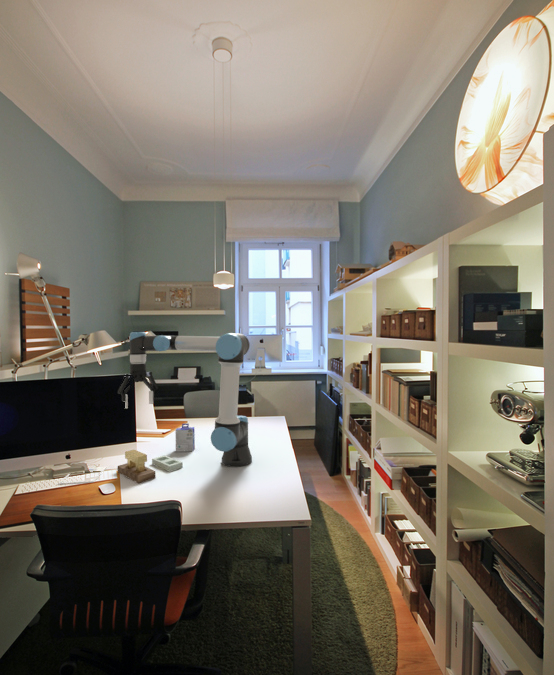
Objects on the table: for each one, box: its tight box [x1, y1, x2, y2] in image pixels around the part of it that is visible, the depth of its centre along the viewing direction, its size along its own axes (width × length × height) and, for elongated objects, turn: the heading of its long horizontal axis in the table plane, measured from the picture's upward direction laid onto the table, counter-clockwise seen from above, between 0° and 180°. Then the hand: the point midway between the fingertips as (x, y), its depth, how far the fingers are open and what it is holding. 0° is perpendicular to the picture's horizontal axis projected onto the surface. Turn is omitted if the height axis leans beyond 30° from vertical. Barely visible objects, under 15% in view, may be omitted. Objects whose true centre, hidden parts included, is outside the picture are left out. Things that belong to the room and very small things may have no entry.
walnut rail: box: [117, 463, 156, 484], centre depth 170 cm, size 20×8×3 cm, turn 48°
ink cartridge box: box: [175, 423, 196, 453], centre depth 206 cm, size 10×6×14 cm, turn 95°
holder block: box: [151, 455, 183, 472], centre depth 181 cm, size 16×7×2 cm, turn 48°
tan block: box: [124, 449, 148, 473], centre depth 170 cm, size 12×4×10 cm, turn 48°
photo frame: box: [57, 466, 108, 485], centre depth 170 cm, size 15×1×18 cm
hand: (138, 405), depth 183 cm, fingers open, 13 cm apart
